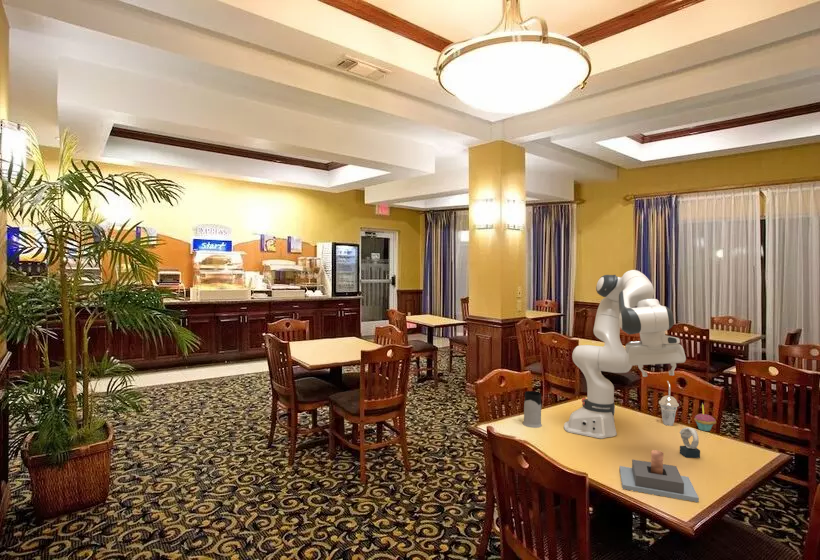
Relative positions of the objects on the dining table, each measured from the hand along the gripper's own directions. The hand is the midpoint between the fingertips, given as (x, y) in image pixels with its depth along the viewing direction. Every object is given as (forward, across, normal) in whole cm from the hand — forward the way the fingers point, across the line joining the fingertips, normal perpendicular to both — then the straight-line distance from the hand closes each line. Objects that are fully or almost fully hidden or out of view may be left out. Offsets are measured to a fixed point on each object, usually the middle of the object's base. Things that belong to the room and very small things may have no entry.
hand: (658, 376), depth 176 cm
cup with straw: (+28, +13, +52) cm, 60 cm away
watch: (+33, +10, +13) cm, 37 cm away
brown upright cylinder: (+33, -10, -19) cm, 40 cm away
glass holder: (+22, -49, +33) cm, 64 cm away
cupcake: (+30, +27, +49) cm, 64 cm away
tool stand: (+35, -10, -19) cm, 41 cm away
